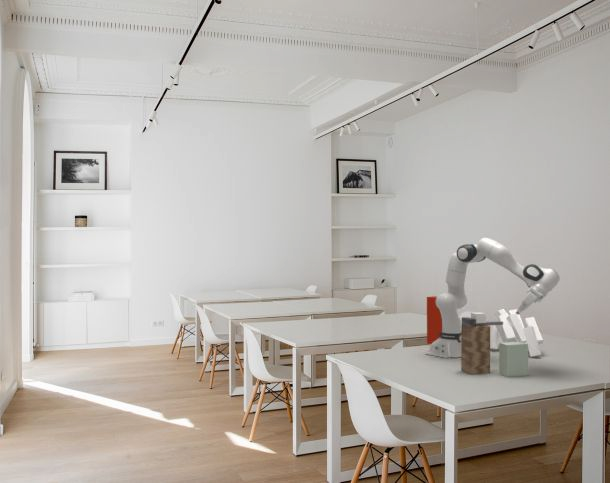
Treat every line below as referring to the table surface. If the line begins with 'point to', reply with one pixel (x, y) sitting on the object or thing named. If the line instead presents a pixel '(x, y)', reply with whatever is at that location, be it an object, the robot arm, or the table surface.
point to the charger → (483, 320)
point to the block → (513, 359)
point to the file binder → (433, 320)
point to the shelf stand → (475, 347)
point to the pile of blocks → (516, 331)
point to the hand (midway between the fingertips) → (517, 312)
